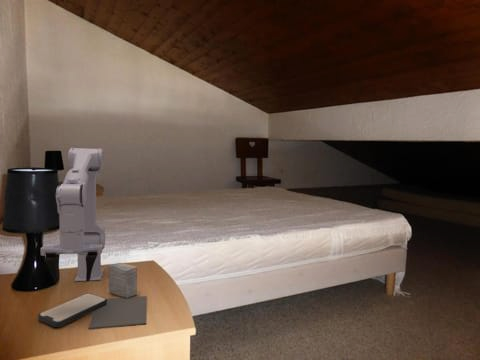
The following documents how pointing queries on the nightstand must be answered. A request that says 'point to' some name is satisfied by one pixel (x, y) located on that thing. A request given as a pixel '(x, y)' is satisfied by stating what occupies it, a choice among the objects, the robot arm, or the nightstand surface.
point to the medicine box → (123, 280)
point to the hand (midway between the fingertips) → (72, 280)
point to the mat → (120, 313)
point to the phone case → (72, 309)
